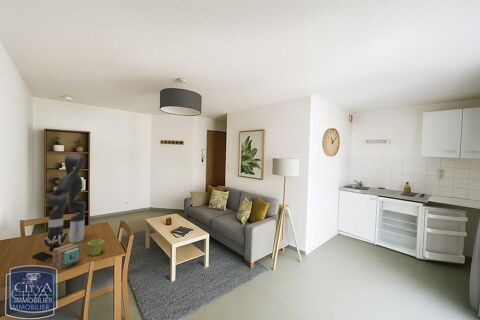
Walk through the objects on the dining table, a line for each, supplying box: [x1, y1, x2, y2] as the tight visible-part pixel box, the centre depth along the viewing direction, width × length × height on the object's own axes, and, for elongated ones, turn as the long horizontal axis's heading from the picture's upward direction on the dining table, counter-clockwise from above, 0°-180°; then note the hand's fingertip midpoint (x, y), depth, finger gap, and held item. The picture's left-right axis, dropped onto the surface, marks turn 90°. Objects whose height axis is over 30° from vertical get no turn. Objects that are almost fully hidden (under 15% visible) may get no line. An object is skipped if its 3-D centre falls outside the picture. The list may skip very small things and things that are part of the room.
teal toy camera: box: [63, 248, 80, 264], centre depth 126 cm, size 3×7×7 cm, turn 161°
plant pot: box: [87, 239, 104, 257], centre depth 143 cm, size 9×9×9 cm
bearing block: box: [51, 242, 80, 270], centre depth 128 cm, size 8×10×11 cm
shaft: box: [53, 241, 76, 258], centre depth 129 cm, size 21×3×6 cm, turn 71°
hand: (54, 250), depth 132 cm, fingers closed on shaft, 2 cm apart
